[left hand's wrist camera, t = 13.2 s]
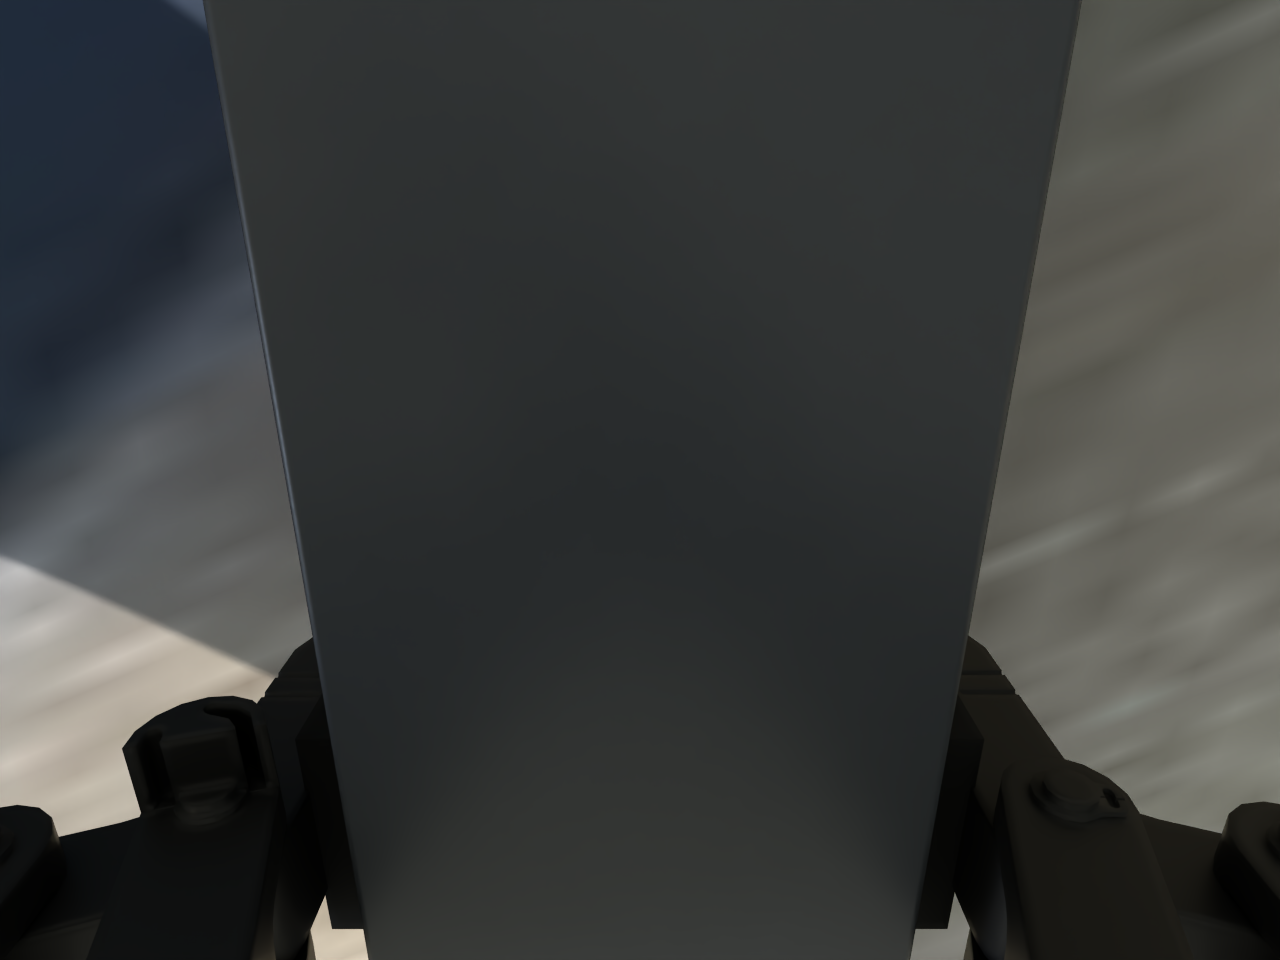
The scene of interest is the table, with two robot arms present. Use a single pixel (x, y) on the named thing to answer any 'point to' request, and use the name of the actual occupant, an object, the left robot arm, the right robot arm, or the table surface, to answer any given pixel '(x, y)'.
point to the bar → (640, 441)
